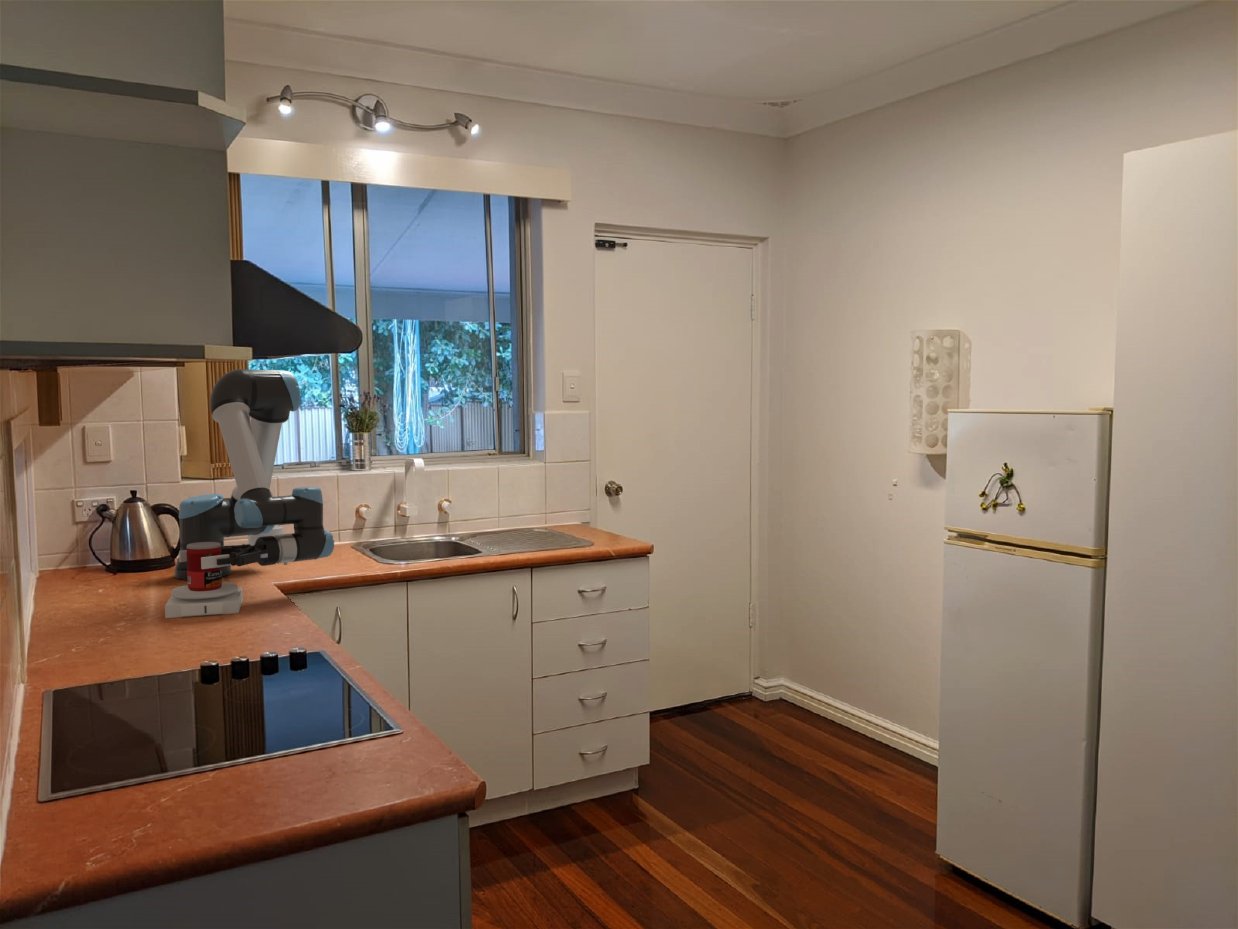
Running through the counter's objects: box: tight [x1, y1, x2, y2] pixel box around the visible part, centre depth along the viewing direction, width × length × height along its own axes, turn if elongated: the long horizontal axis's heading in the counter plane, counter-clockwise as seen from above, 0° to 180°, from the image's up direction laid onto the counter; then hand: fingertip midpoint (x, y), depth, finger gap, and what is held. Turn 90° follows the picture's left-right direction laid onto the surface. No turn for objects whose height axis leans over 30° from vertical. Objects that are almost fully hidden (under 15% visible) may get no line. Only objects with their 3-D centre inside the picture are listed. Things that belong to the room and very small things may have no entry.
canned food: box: [186, 542, 223, 591], centre depth 228 cm, size 8×8×11 cm
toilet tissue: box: [247, 525, 285, 546], centre depth 301 cm, size 11×12×10 cm
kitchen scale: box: [164, 581, 244, 619], centre depth 228 cm, size 17×16×5 cm
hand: (190, 560), depth 225 cm, fingers open, 13 cm apart
